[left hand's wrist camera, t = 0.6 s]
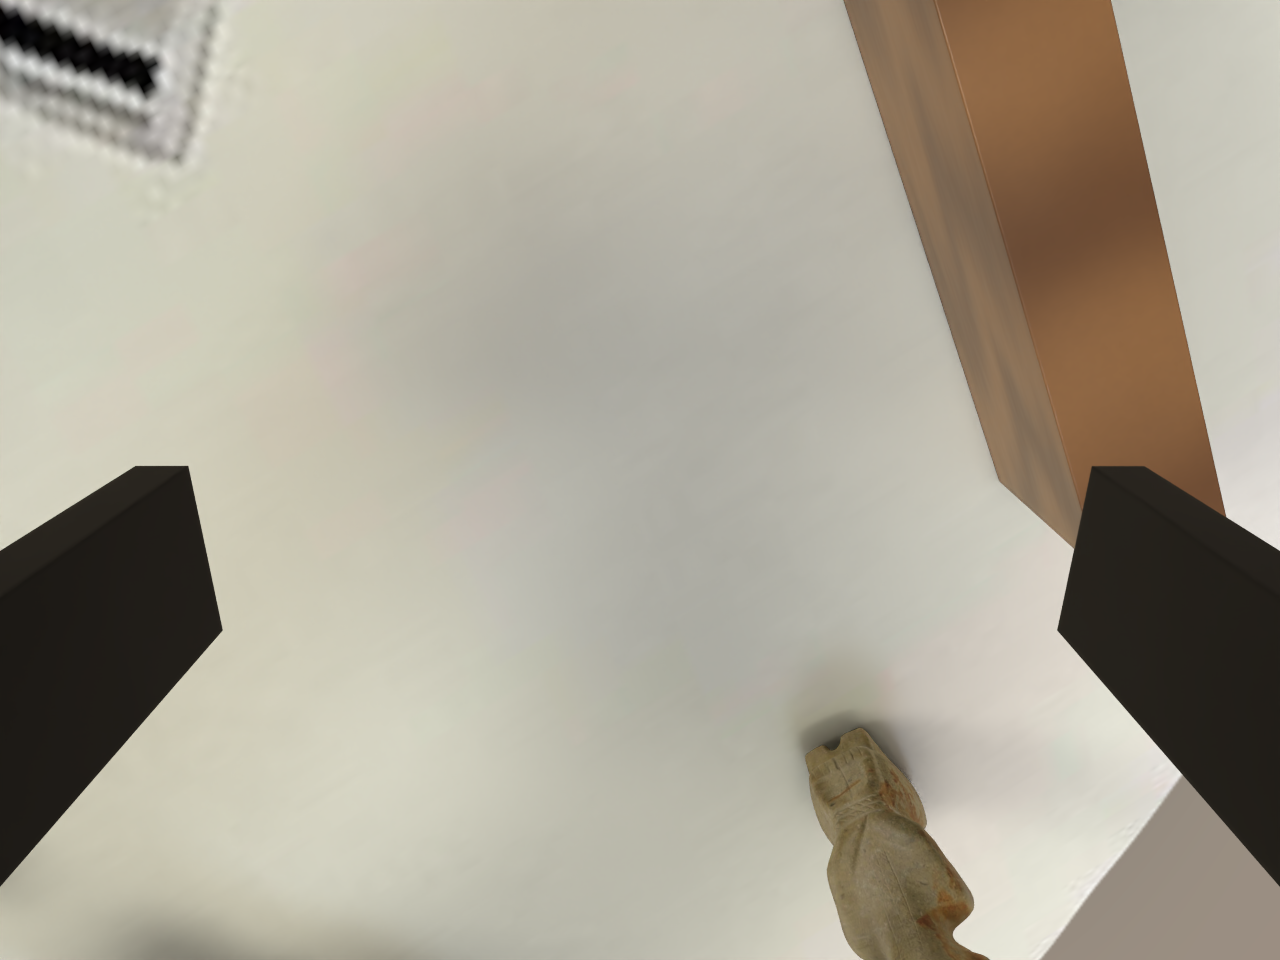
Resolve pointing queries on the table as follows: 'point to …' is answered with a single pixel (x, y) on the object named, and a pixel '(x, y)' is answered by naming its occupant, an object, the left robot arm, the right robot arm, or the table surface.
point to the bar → (1041, 239)
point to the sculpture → (885, 857)
